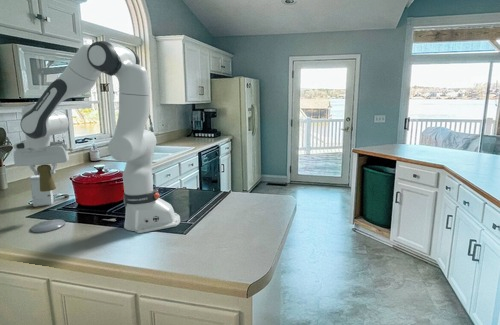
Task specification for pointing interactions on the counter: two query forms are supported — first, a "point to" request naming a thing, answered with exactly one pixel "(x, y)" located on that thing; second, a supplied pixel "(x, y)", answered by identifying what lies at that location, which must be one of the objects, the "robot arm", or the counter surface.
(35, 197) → the skincare box
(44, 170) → the cork
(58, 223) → the coaster
